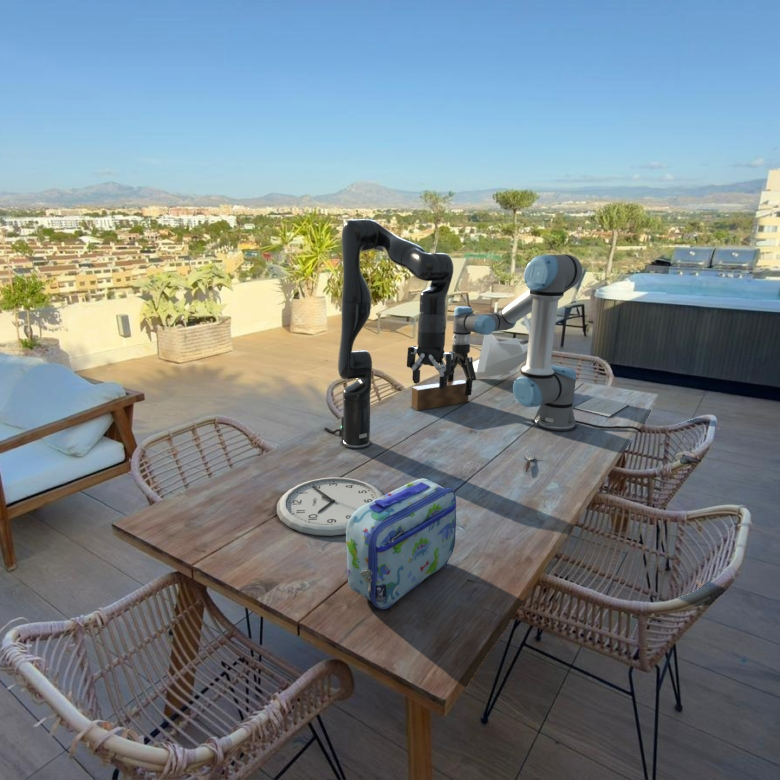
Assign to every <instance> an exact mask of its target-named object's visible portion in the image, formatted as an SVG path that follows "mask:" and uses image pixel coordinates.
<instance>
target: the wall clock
mask: <svg viewBox="0 0 780 780" xmlns="http://www.w3.org/2000/svg"><path fill="white" fill-rule="evenodd" d="M384 495H385V494H384V493H383V492H382V491H381V490H380V489H379V488H377V487H376V486H374V485H372V484H371V483H369V482H365V481H362V480H359V479H355V478H349V477H338V476H337V477H335V476H333V477H332V476H331V477H322V478H317V479H312V480H307V481H305V482H302V483H299V484H297V485H295V486H293V487H292V488H290V489H288V490H287V491H286V492H285V493H284V494H283V495H281V496H280V498H279V499H278V502H277V503H276V515H277V517H278V518H279V520H280V521H281V522H282V523H283V524H285V525H286V526H287V527H288V528H290V529H293V530H295V531H297V532H299V533H303V534H308V535H312V536H327V537H328V536H329V537H331V536H332V537H333V536H342V535H346V528H347V524H348V521H349V519H350V517H351V515H352V514H353V513H354V512H355V511H356V510H357V509H358V508H360V507H362V506H364V505H366V504H368V503H370V502H372V501H374V500H376V499H378V498H380V497H382V496H384Z"/></svg>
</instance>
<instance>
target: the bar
mask: <svg viewBox="0 0 780 780" xmlns="http://www.w3.org/2000/svg"><path fill="white" fill-rule="evenodd" d="M465 385H466V380H465V379H459V380H453V381H451V382H447V386H446V387H445V388H444V389H439V382H438V383H431V384H423V385H416V386H412V387H411V408H412V409H414V410H416V411H423V410H428V409H434V408H440V407H447V406H453V405H458V404H459V405H460V404H465V403H468V402H469V396H470V395H468V396H465Z"/></svg>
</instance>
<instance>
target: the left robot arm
mask: <svg viewBox="0 0 780 780" xmlns="http://www.w3.org/2000/svg"><path fill="white" fill-rule="evenodd" d="M370 251H378V252H383V253H385V254H386V256H387V258H388V259H389V260H390V262H392V263H394V264H395V265H397V266H399V267H401V268H403V269H405V270H408V272H410V274H411V275H413V276H414V277H415V278H416V279H418V280H420V281H423V282H430V285H429V287H428V288H426V289H424V290H422V291H421V292H420V295H419V309H418V310H419V313H418V319H417V342H416V343H417V346H416V345H412V346H408V347H407V355H406V367H407V368H410V369H411V370H412V375H411V376H412V377H411V378H412V379H411V380H412V382H413V384H416V385H417V384H419V383H420V382H421V368H422V367H423V365H424V366H430V367H434V368H435V370H436V371H437V372H438V374H439V375H440V376H439V381H438V383H439V389H444V388H445V387H446V386H447V376H449V375H451V374H454V375H455V369H454V353H453V352H452V353H449V352H445V345H446V329H447V317H446V307H447V306H446V305H447V295H448V293H449V289H450V286H451V283H452V279H453V276H454V263H453V262H454V261H453V260H452V258H451V255H449V254H448V253H444V252H435V253H434V252H433V253H432V252H431V253H427V252H426V251H425V249H424V248H423V247H421V246H420V245H418V244H416V243H413V242H411V241H408V240H406V239H403V238H401V237H400V236H397V235H396V234H394V233H393V232H391V231H390V230H388V229H387V228H385V227H384V226H383V225H381V224H380V223H378V222H377V221H376V220H373V219H368V218H365V219H349V220H347V221H345V222H344V225H343V226H342V230H341V254H342V293H341V322H340V323H341V326H340V327H341V328H340V331H341V332H340V340H339V348H338V349H339V350H338V358H337V371H338V375H339V378H341V379H342V380H355V379H356V380H355V381H354V382H353V383H351V384H350V385H347V386H345V388H344V389H343V391H342V406H343V407H342V411H343V416H342V417H341V419H340V420H341V421H340V422H341V426H340V428H336V429H334V430H332V429H330V428H328V427H326V426H325V427H324V430H325V431H327V432H328V433H330V434H336V433H338V436H340V437H341V443H343V446H344V447H346V448H348V449H357V450H358V449H364V448H367V447H369V446H370V445H371V391H372V376H373V375H372V374H373V360H372V355H371V353H370V352H369V351H368V350H364V349H363V350H353V347H354V343H355V341H356V339H357V337H358V335H359V334H360V332H361V331H362V330H363V328H364V326H365V325H366V324H367V322H368V320H369V318H370V316H371V309H372V292H371V289H370V287H369V285H368V283H367V281H366V279H365V277H364V275H363V272H362V270H361V252H370ZM416 355H417V356H418V358H417V359H416ZM443 359H444V360H443ZM445 366H446V367H445Z"/></svg>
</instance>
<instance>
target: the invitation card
mask: <svg viewBox="0 0 780 780" xmlns="http://www.w3.org/2000/svg"><path fill="white" fill-rule="evenodd" d="M628 406H629V404H627V403H623V402H618V401H614V400H609V399H605V398H601V397H596V396H593V397H592V398H590V399H588V400H586V401H584V402H582V403H580V404H578V405H575V406H574V407H573V409H575V410H581V411H584V412H587V413H593V414H596V415H600V416H604V417H608V418H609V417H611V416H613V415H614V414H616V413H617V412H619V411H621V410H623V409H624V408H626V407H628Z"/></svg>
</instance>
